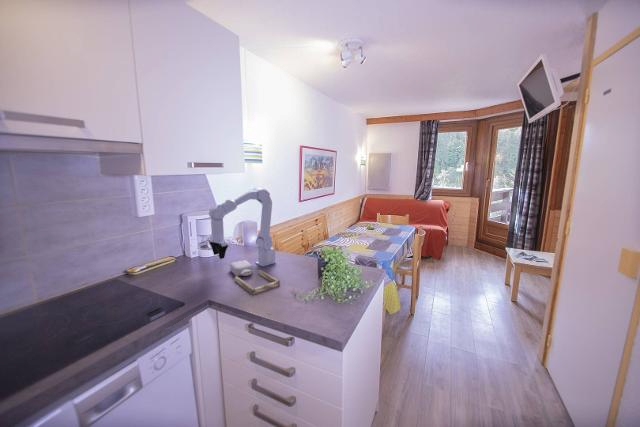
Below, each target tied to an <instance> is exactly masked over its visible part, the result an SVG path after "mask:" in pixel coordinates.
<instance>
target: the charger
mask: <svg viewBox="0 0 640 427" xmlns="http://www.w3.org/2000/svg"><path fill="white" fill-rule="evenodd" d="M229 269H230V271H231V272H232V274H234V276H235V277H236V276H237V277H242V276H243V277H246V276H250V275H252V274H253V272H254V270H253V269H254V266H253V265H252V264H251V263H250V262H249V261H248V260H245V259H244V260H239V261H233V262H231V263H230V264H229Z"/></svg>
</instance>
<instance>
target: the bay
mask: <svg viewBox="0 0 640 427" xmlns="http://www.w3.org/2000/svg"><path fill="white" fill-rule="evenodd" d="M258 275H260V276H262V277H263V278H265V279H266V280H267V281H270V283H267V284H264V285H260V286H258V287H255V288H254V287H252V286H251V285H249V284H248V283H247V282H245V280H242V279H241V278H240V276H236V275H235V276H234V281H235V283H237V284H239V285H240V287H243V288H244V289H245V290H246V291H248V292H249V293H250V294H252V295H256V294H258V293H261V292H264V291H268V290H270V289H273V288H277V287H278V286H281V281H280V280H279V279H277V278H275V277H273V276H272V275H271V274H268V273H267V272H265V271H264V270H262V269H259V270H258Z"/></svg>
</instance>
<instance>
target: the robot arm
mask: <svg viewBox="0 0 640 427" xmlns="http://www.w3.org/2000/svg"><path fill="white" fill-rule="evenodd" d="M249 200H254V201H255V200H256V201H258V202H259V204H260V205H261V206H262V207H261V217H260V227H259V228H260V229H259V230H260V231H259V232H258V234H257V237H256V239H255V245H257V260H258V261H255V264H257V265H258V266H260V267H266V266H269V265H274V264H276V263H277V261H276V251H275V248H274V247H273V245H274V244H273V243H274V242H273V240H272V239H273V237H272V235H271V233H270V232H271V223H272V222H271V220H272V211H273V210H272V209H273V201H272V198H271V193H270V192H269V191H268V189H265V188H259V187H254V188H253V189H249V190H248V191H246V192H245V193H243V194H242V195H240V196H238V197H236V198H234V200H233V199H226V200H225V201H224V202H223V203H220V204H217V206H214V207H211V208H210V210H209V212H208V216H209V217H210V226H211V228H210V230H211V236H210V240H209V241H208V244H209V245H210V247H211V250H212V253H213V256H215V255H218V258H219V259H220V260H222V259H225V256H226V252H227V249H228V248H229V245H228V244H227V242H226V239H225V234H224V232H225V231H224V229H225V228H224V218H225V216H226V215H228V214H230V213H232V212H233V211H235V210H236V209H237V206H240V205H241V204H244V203H246V202H247V201H249ZM273 261H274V262H273Z"/></svg>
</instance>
